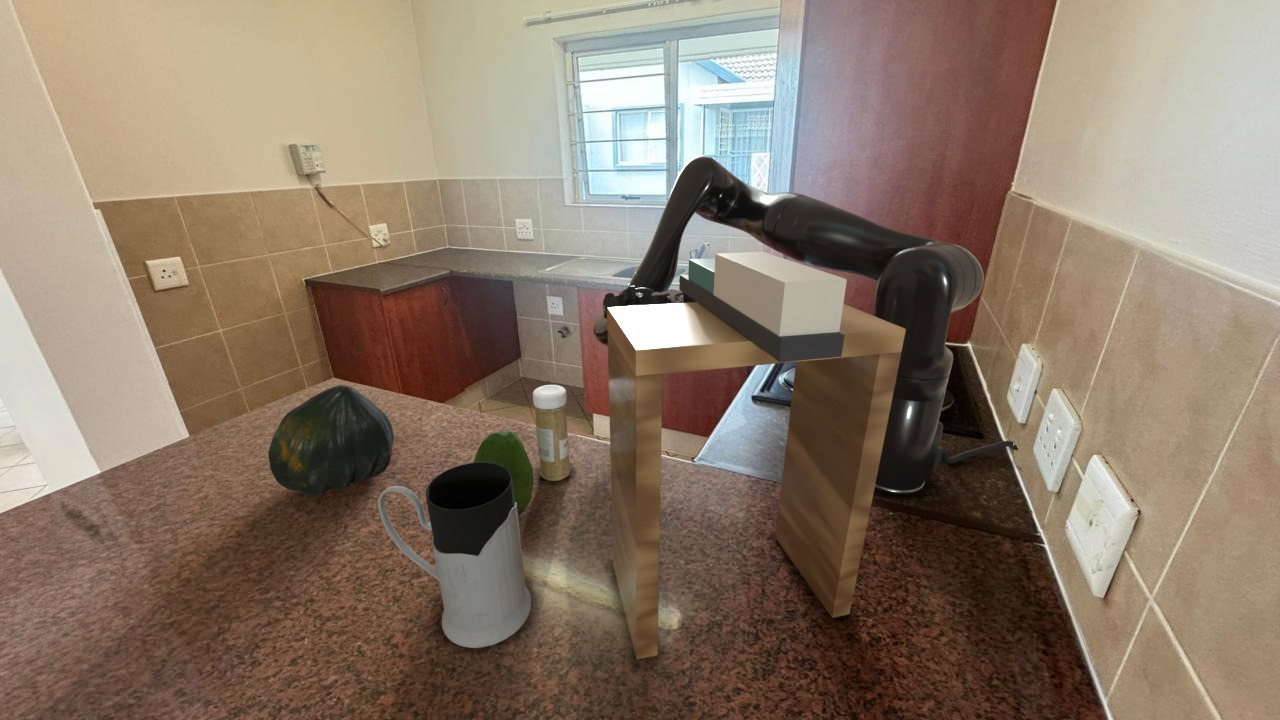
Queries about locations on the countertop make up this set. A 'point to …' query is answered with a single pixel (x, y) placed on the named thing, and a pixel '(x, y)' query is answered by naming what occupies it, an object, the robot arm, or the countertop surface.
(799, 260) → the robot arm
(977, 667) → the countertop surface
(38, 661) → the countertop surface
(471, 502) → the glass holder
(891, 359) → the wooden stand
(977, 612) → the countertop surface
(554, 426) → the spice jar
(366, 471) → the squash
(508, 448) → the avocado
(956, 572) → the countertop surface
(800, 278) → the beige green block bar
